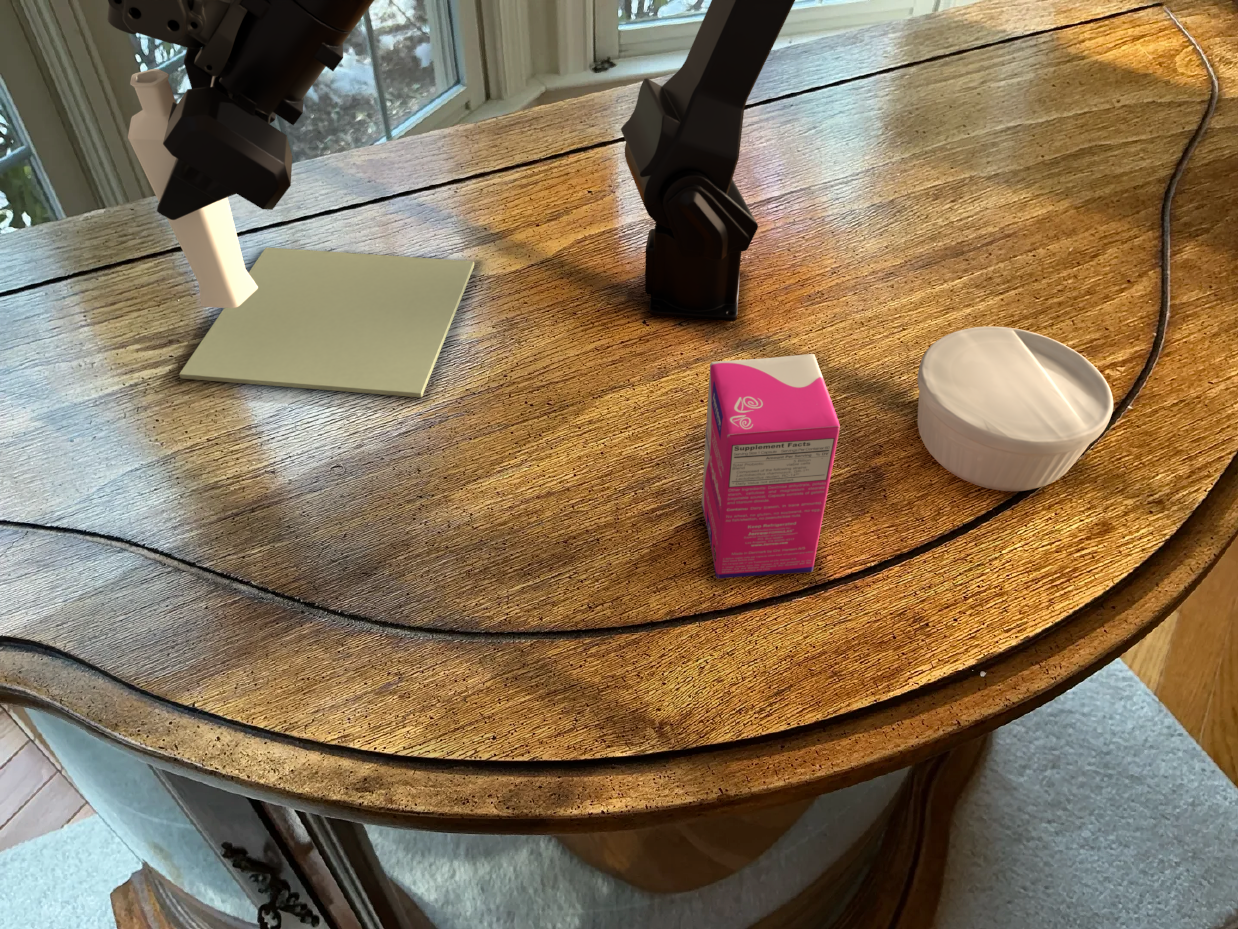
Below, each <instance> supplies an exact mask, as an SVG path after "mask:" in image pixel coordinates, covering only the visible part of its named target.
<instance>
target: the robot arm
mask: <svg viewBox="0 0 1238 929" xmlns="http://www.w3.org/2000/svg"><path fill="white" fill-rule="evenodd" d="M107 2H108V10H107V18H106V19H107V20H106V21H107V23H109V25H110V26H112V27H113V28H115V29H117V30H119V31H121V32H124V33H127V34H130V35H137V34H139V35H142V36H146V37H148V38H152V39H154V40H158V41H160V42H164V43H167V44H171V45H177V46H180V47H183V48H186V51H185V55H184V59H183V65H184V68H185V71H186V74H187V78H188V82H189V84H190V88H187V89H186V91H185V92H184V94H183V95H182V96H181V98H180V100H179V101H178V102H176V103H178V104H176V103H174V102H173V104H172V108H171V112H170V116H169V119H168V126H167V130H166V133H165V137H164V141H163V145H164V146H165V147H166V148H167V150H168V151H169V152H170V153H171V155H172V156H174V157H176V161H175V163H174V166H173V168H172V171H171V173H170V176H169V178H168V181H167V183H166V186H165V188H164V191H163V194H162V196H161V199H160V202H159V201H158V205H157V207H156V211H157V213H158V214H159V215H161V216H163V217H165V218H166V219H167V218H169V219H171V220H176V219H178V218H181V217H183V216H185V215H187V214H190V213H192V212H194V211H196V210H199V209H201V208H203V207H206V206H208V205H210V204H212V203H215V202H217V201H220V200H222V199H224V198H227V197H228V198H230V197H232V196H234V195H238V196H240V197H241V198H242V199H245V200H246V201H248V202H250V203H251V204H253V205H254V206H256V207H258V208H260V209H261V210H264V211H265V210H267V211H269V210H270V211H273V210H274V209H275V207H276V206H277V205H278V203H279V202H280V200H281V199H282V198H283V197H284V195H285V194H286V193H287V191H288V190H289V188H290V187H291V185H292V170H293V169H292V168H293V153H292V150H291V145H290V143H289V139H288V135H287V134H285V133H284V132H282V131H281V130H279V129H278V128H276V127H275V126H274V125H271V124H273V122H275V121H276V119H277V118H276V117H277V116H278V117H280V118H281V119H283V120H284V121H286V122H287V123H288V124H290V125H291V126H295V125H296V123H297V122H298V121H299V119H300V117H302V115H303V113H304V98H305V96H306V95H307V93H308V92H309V91H310V89H311V88H312V87H313V85H314V84H315V83H316V81H317V80H318V78H319V77H320V76H321V74H322V73H323V71H324V70H325V69H326V68H327V69H329V70H330V71H332V72H334V71H335V69H336V68H337V67H338V66H339V65H340V63H341V62H342V61H343V59H344V43H345V41H346V40H347V39H348V37H349V36H350V34H351V33H352V32H353V30H354V29H355V28H356V27H357V25H358V23H359V22H360V21H361V20H362V18H363V16H364V15H365V14H366V13H367V11H368V10H369V9H370V7H371V6H372V5H373V3H374V2H375V0H107ZM795 2H796V0H711V1H710V3H709V5H708V8H707V10H706V12H705V15H704V17H703V20H702V21H701V24H700V26H699V29H698V31H697V33H696V36H695V38H694V40H693V42H692V45H691V47H690V50H689V51H688V54H687V57H686V58H685V61H684V62H683V64H682V66H681V67H680V68H679V69H678V70H677V72H676V73H674V74H673V75H672V76H671V77H670V78H669V79H668V80H667V81H666V82H665V83H664V84H663V85H660V84H658V83H656V82H655V81H653V80H651V79H650V78H644V79H643V80H642V82H641V85H640V87H639V91H638V94H637V95H638V96H637V100H636V103H635V106H634V110H633V112H632V114H631V115H630V117H629V119H627V121H626V122H625V123H624V124H623V125H622V126H621V128H620V131H621V134H622V136H623V139H624V141H625V146H624V158H625V161H626V164H627V167H628V169H629V172H630V174H631V178H632V180H633V181H634V185H635V187H636V189H637V191H638V194H639V197H640V199H641V201H642V204H643V206H644V208H645V210H646V213H647V215H648V216H649V217H650V218H651V220H653V221H654V222H655V226H654V228H650V229H649V231H648V234H647V240H646V246H645V261H644V262H645V263H644V264H645V266H644V267H645V268H644V269H645V270H644V293H645V294H646V295H647V296H650V298H649V305H648V314H649V315H650V316H652V317H661V318H675V319H687V320H688V319H689V320H700V321H701V320H703V321H704V320H705V321H717V322H735V321H736V320H737V319H738V311H739V296H740V295H739V294H740V277H741V276H740V275H741V262H742V261H741V260H742V253H743V252H746V251H747V250H749V247H750V245H751V243H752V241H753V239H754V237H755V235H756V233H757V230H758V228H759V224H758V222H757V220H756V219H755V217H754V215H753V213H752V211H751V209H750V208H749V206H748V204H747V203H746V201H745V198H744V197H743V195H742V193H741V191H740V190H739V188H738V186H737V184H736V183H735V181H734V179H733V178H734V175H735V171H736V168H737V167H738V166H737V165H738V161H739V158H740V152H741V143H742V142H741V141H742V133H743V124H744V115H745V108H746V104H747V102H748V99H749V97H750V95H751V93H752V91H753V89H754V86H755V84H756V82H757V80H758V78H759V76H760V74H761V72H762V70H763V68H764V65H765V64H766V62H767V60H768V58H769V55H770V53H771V51H772V49H773V47H774V45H775V43H776V41H777V39H778V37H779V35H780V33H781V31H782V29H783V26H784V25H785V22H786V20H787V19H788V16H789V14H790V12H791V10H792V8H793V6H794V4H795Z"/></svg>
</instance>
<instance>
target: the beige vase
mask: <svg viewBox="0 0 1238 929" xmlns="http://www.w3.org/2000/svg"><path fill="white" fill-rule="evenodd" d="M169 78H170V74H169V73H168V72H165V71H164V70H161V69H159V68H151V69H146V70H143V71H139V72H135V73H133V74H131V77H130V82H129V85H130V86H132V87H133V89H134V90H135V93H136V95H137V96H136V97H137V98H138V101H139V104H140V106H141V110H139V112H136V113H135V114H133V115H132V116H131V118H130V123H129V128H128V133H127V139H128V141H129V144H130V145H131V147H132V149H133V151H134V153H135V156H136V158H137V160H138V161H139V164H140V166H141V168H142V170H143V172H144V174H145V176H146V178H147V181H148V182H149V184H150V187H151V189H152V191H153V192H154V195H155V197H156V199H157V201H158V203H159V202H160V199H161V196H162V194H163V191H164V188H165V186H166V183H167V181H168V178H169V176H170V173H171V171H172V168H173V166H174V163H175V161H176V157H174V156H172V155H171V153H170V152H169V151H168V150H167V148H166V147H165V146H164V145H163V141H164V137H165V133H166V130H167V126H168V119H169V116H170V112H171V108H172V104H173V102H174V103H176V104H178V103H179V102H177V101H176V98H175V95H174V93H173V89H172V87H171V84H170V81H169ZM166 220H167V222H168V224H169V226H170V228H171V230H172V232H173V234H174V237H175V238H176V240H177V242H178V244H179V246H180V248H181V250H182V253H183V254H184V256H185V258H186V261H187V263H188V265H189V267H190V269H191V271H192V274H193V275H194V277H195V279H196V281H197V284H198V290H199V300H200V301H199V302H200V306H201V307H202V308H220V309H221V308H222V309H224V308H236V307H238V306H240V305H241V304H242V303H243V302H244V301H245V300H246V299H247V298H248V297H249V296H250V295H252V294H253V293H254V292H255V291H256V290H257V289H258V286H257V285H256V283H255V282H254V280H253V279H252V278H251V276H250V275H249V271H248V270H247V269H246V264H245V261H244V258H243V254H242V250H241V245H240V242H239V238H238V237H239V236H238V234H237V230H236V226H235V221H234V218H233V213H232V209H231V206H230V202H229V197H227V198H224V199H222V200H220V201H217V202H215V203H212V204H210V205H208V206H206V207H203V208H201V209H199V210H196V211H194V212H192V213H190V214H187V215H185V216H183V217H181V218H178V219H176V220H171V219H169V218H167V217H166Z"/></svg>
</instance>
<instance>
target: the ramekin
mask: <svg viewBox="0 0 1238 929" xmlns="http://www.w3.org/2000/svg"><path fill="white" fill-rule="evenodd" d="M916 377H917V387H918V403H917V404H918V405H917V428H918V434H919V436H920V439H921V441H922V443H923V444H924V447H925V448H926V450H927V451H928V453H929V454H930V455H931V456H932V457H933V459H934V460H935V461H936V462H937V463H938V464H939V465H940V466H942V468H944V469H945V470H946V471H948V472H949V473H951V474H952V475H954V476H956V477H957V478H959V479H961V480H963V481H965V482H967V483H970V484H973V485H975V486H978V487H981V488H984V489H990V490H995V491H1002V492H1024V491H1031V490H1035V489H1038V488H1043V487H1045V486H1047V485H1050V484H1052V483H1053V482H1056V481H1058V480H1059V479H1061V477H1063V476H1065V475H1066V474H1067V472H1068V471H1069V470H1070V469H1071V468H1072V467H1073V466H1074V464H1075V463H1076V462H1077V461H1078V459H1079V458H1080V457H1081V456H1082V454H1083V453H1084V452H1085V451H1086V450H1087V448H1088V447H1089V445H1090V444H1092V443H1093V442H1094V441H1096V440H1097V439H1098V438H1099V437H1100V436H1101V435H1102V434H1103V433H1104V431H1105V430H1106V428H1107V427H1108V425H1109V422H1110V420H1111V417H1112V414H1113V411H1114V397H1113V392H1112V390H1111V388H1110V385H1109V384H1108V382H1107V380H1106V378H1105V377H1104V375H1103V374H1102V373H1101V372H1100V371H1099V369H1098V368H1097V367H1096V366H1095V365H1094V364H1092V362H1091V361H1089V360H1088V359H1087V358H1086V357H1084V356H1083V355H1082V354H1080V353H1079V352H1078V351H1076V350H1075V349H1073V348H1071V347H1069V346H1067V345H1065V344H1064V343H1062V342H1060V341H1058V340H1056V339H1053V338H1050V337H1048V336H1046V335H1042V334H1039V333H1036V332H1032V331H1029V330H1025V329H1019V328H1014V327H1007V326H993V325H991V326H989V325H986V326H975V327H969V328H968V327H967V328H963V329H960V330H957V331H956V330H955V331H953V332H951V333H948V334H946V335H944V336H942V337H940V338H939V339H937V340H936V341H935V342H933V343H931V345H930V346H929V347H928V348H927V349H926V351H925V352H924V353H923V355H922V358H921V360H920V363H919V367H918V369H917V376H916Z"/></svg>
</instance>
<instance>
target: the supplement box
mask: <svg viewBox="0 0 1238 929" xmlns="http://www.w3.org/2000/svg"><path fill="white" fill-rule="evenodd" d="M707 391H708V392H707V393H708V394H707V406H706V407H707V408H706V425H705V439H704V455H703V457H704V458H703V472H702V488H701V509H702V514H703V517H704V520H705V524H706V530H707V534H708V540H709V544H710V549H711V556H712V562H713V569H714V574H715V575H714V576H715V578H716V579H718V580H719V579H728V578H729V579H731V578H745V577H758V576H773V575H787V574H788V575H789V574H809V573H813V572H814V567H815V560H816V557H817V556H816V555H817V552H818V545H819V542H820V541H819V539H820V534H821V529H822V525H823V519H824V518H823V517H824V513H825V508H826V502H827V498H828V492H829V487H830V482H831V477H832V471H833V467H834V463H835V462H834V461H835V456H836V450H837V446H838V440H839V434H840V429H841V425H840V421H839V419H838V415H837V412H836V410H835V407H834V405H833V401H832V397H831V395H830V393H829V391H828V388H827V385H826V382H825V379H824V376H823V374H822V371H821V369H820V366H819V363H818V360H817V357H816V355H815V354H814V353H807V354H796V355H785V356H776V357H761V358H749V359H748V358H747V359H733V360H732V359H731V360H717V361H710V363H709V377H708V390H707Z"/></svg>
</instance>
